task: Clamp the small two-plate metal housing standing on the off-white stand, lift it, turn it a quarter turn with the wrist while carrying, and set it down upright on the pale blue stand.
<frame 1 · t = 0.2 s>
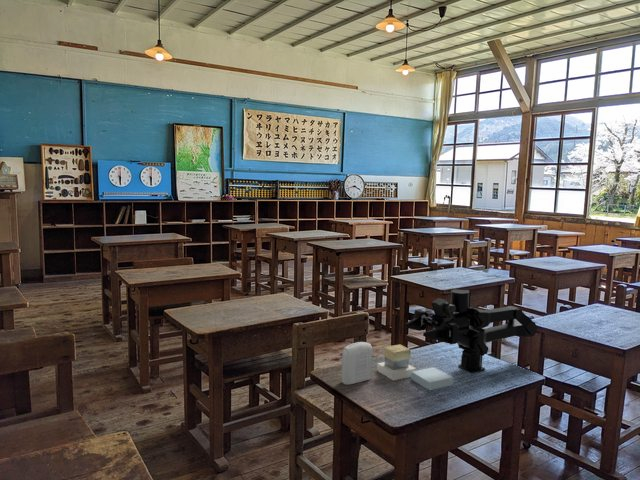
hand: (414, 330, 151), 17 cm above the table, tool horizontal, fingers open, 9 cm apart
stand a: (396, 373, 159), on the table
stand b: (431, 382, 153), on the table
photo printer: (356, 381, 153), on the table
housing: (396, 365, 159), point 2 cm above the table, touching stand a
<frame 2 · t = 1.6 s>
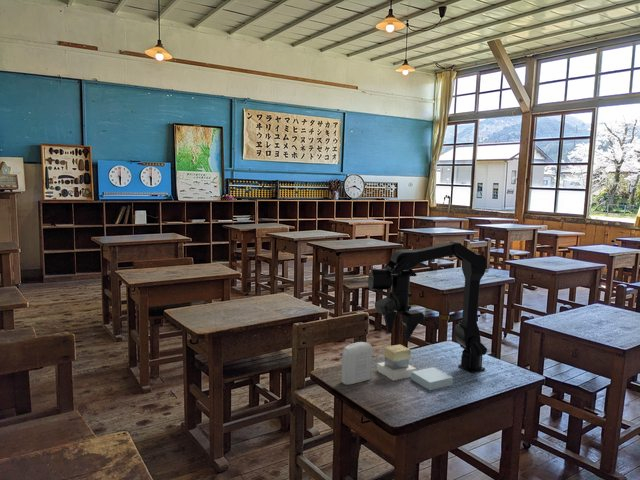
hand: (397, 336, 157), 13 cm above the table, tool pointing down, fingers open, 9 cm apart
nothing on the table moved.
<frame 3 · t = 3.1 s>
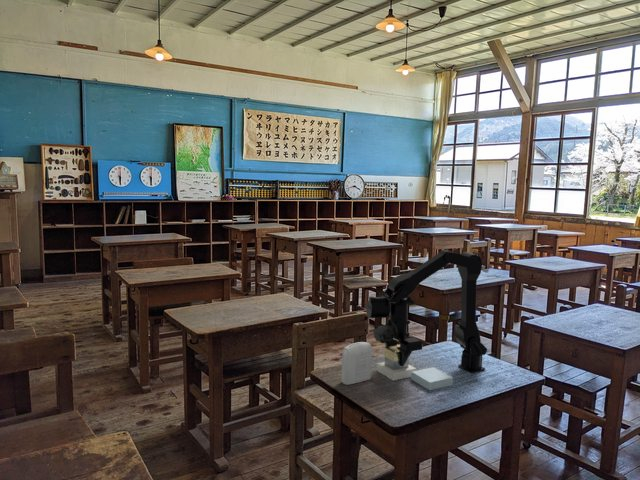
hand: (396, 362, 159), 4 cm above the table, tool pointing down, fingers closed on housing, 5 cm apart
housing: (396, 365, 159), point 2 cm above the table, touching gripper, stand a
everything else where it was.
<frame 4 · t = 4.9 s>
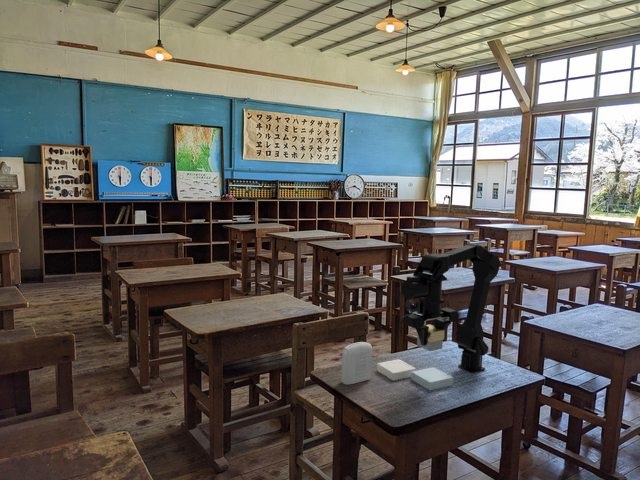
hand: (429, 343, 152), 12 cm above the table, tool pointing down, fingers closed on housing, 5 cm apart
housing: (429, 346, 152), point 11 cm above the table, touching gripper
everything else where it was.
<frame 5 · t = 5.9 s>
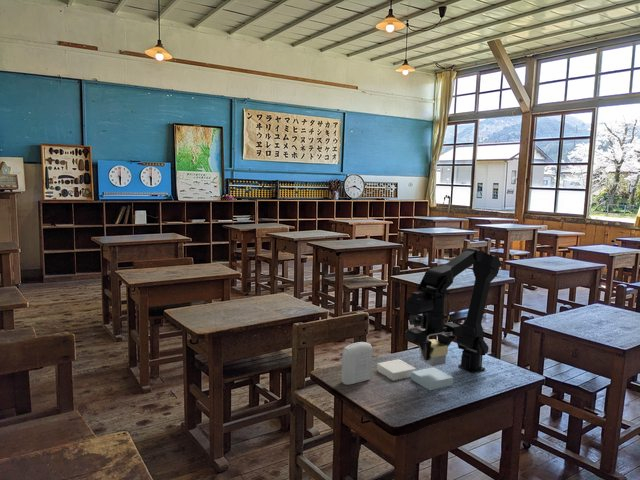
hand: (432, 358, 152), 8 cm above the table, tool pointing down, fingers closed on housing, 5 cm apart
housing: (432, 361, 152), point 7 cm above the table, touching gripper
everything else where it was.
when the fingers open (5 cm above the table, at t = 6.9 s): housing drops 1 cm, resting on stand b.
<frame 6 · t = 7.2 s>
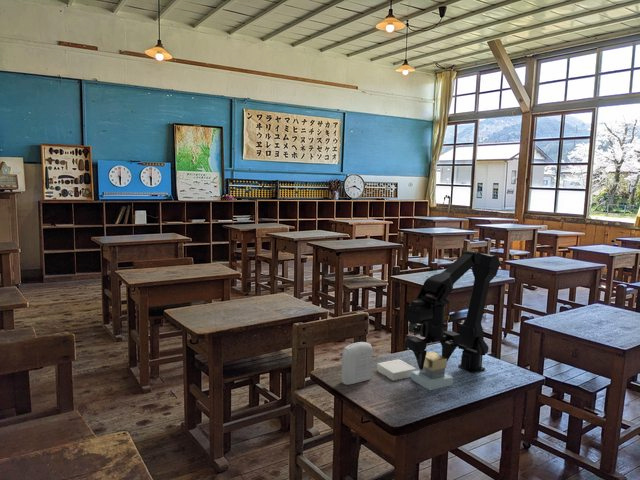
hand: (432, 366, 152), 5 cm above the table, tool pointing down, fingers open, 9 cm apart
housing: (431, 374, 152), point 2 cm above the table, touching stand b
everything else where it was.
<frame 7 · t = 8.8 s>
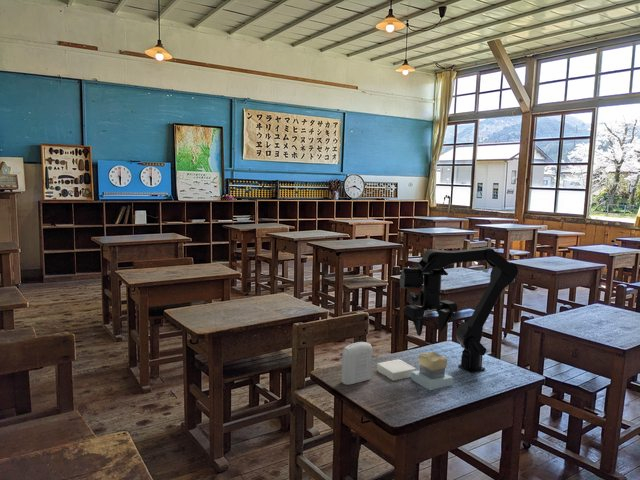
hand: (429, 333, 161), 12 cm above the table, tool pointing down, fingers open, 9 cm apart
nothing on the table moved.
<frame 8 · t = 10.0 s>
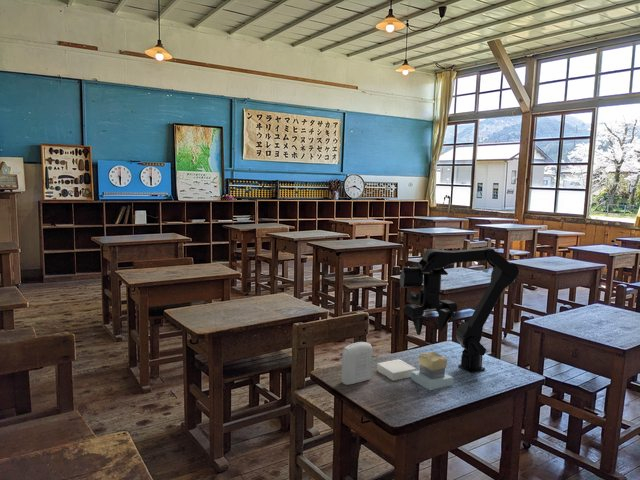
hand: (429, 333, 162), 13 cm above the table, tool pointing down, fingers open, 9 cm apart
nothing on the table moved.
at the end: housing 0.0 cm off-centre on the stand b, point 2.5 cm above the stand b's base; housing tilted 0°; the gripper is holding nothing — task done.
